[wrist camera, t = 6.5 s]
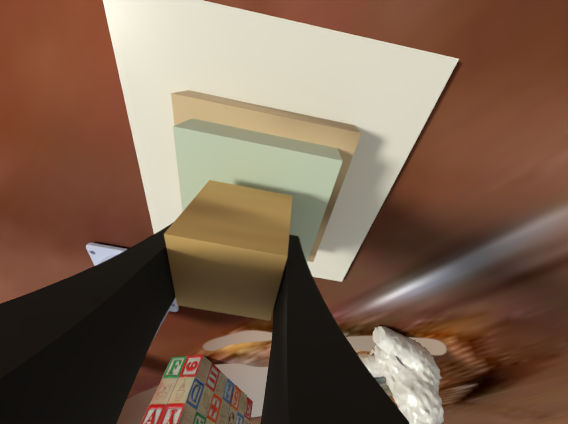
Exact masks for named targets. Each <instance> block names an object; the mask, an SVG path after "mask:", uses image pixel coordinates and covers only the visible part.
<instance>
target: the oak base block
mask: <svg viewBox="0 0 568 424" xmlns="http://www.w3.org/2000/svg"><path fill="white" fill-rule="evenodd" d="M171 98H172V108H173V117H174V126H175V125H177V124H179V123H182V122H184V121H186V120H189V119H191V118H194V119H199V120H203V121H208V122H213V123H218V124H223V125H228V126H233V127H237V128H242V129H247V130H252V131H257V132H262V133H267V134H272V135H276V136H281V137H286V138H291V139H296V140H301V141H306V142H310V143H315V144H320V145H325V146H330V147H335V148H337V149H338V151H339V153H340V156H341V158H342V160H343V162H342V165H341V168H340V170H339V173H338V176H337V179H336V182H335V185H334V187H333V190H332V193H331V196H330V199H329V202H328V204H327V207H326V210H325V213H324V216H323V219H322V222H321V224H320V227H319V230H318V233H317V236H316V239H315V241H314V244H313V247H312V250H311V253H310V256H309V258H308V261H310V262H313V261H314V259H315V256H316V253H317V251H318V248H319V245H320V243H321V240H322V237H323V235H324V232H325V229H326V227H327V224H328V221H329V219H330V216H331V213H332V211H333V208H334V205H335V203H336V200H337V197H338V195H339V192H340V189H341V187H342V184H343V181H344V179H345V176H346V173H347V171H348V168H349V165H350V163H351V160H352V157H353V155H354V152H355V149H356V147H357V144H358V141H359V139H360V136H361V132H360V131H359V130H358V129H357V128H356V127H355V126H354V125H351V124H347V123H342V122H337V121H332V120H328V119H323V118H318V117H314V116H309V115H304V114H299V113H295V112H290V111H285V110H280V109H276V108H271V107H266V106H261V105H257V104H252V103H247V102H242V101H238V100H233V99H228V98H223V97H219V96H214V95H209V94H204V93H200V92H195V91H190V90H187V91H181V92H175V93H171Z"/></svg>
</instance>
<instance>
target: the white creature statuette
mask: <svg viewBox="0 0 568 424" xmlns="http://www.w3.org/2000/svg"><path fill="white" fill-rule="evenodd" d="M373 341H374V342H375V343H376V344H377V345H376V346H374V348H372V350H371V352H370V353H365V354H357V355H358V356H359V358H360V359H361V361H362V362H363V363H364V365H365V366H366V367H367V369H368V370H369V371H370V373H371V374H372V376H373V377H382V376H384V377H385V378H386V383H387V385H388V386H389V388H390V390H391V392H392V393H393V398H394V400H395V403H396V404H397V405H398V409H399V410H400V411H401V412H402V414H403V415H404V416H405V417H406V418H407V420H408V421H409V424H441V423H442V422H443V421H444V418H443V414H444V410H443V408H442V399H441V398H440V396H439V394H438V390H439V383H440V382H439V379H441V376H440V369H439V368H438V366H437V364H436V363H435V361H434V358H433V356H432V355H430V353H429V351H427V349H426V348H425V347H422V346H421V344H420V343H418V342H416V341H415V340H412V339H410V338H408V337H406V336H403V335H402V334H399V333H397V332H395V331H393V330H391V329H389V328H387V327H385V326H383V327H382V326H379V327H378V328H375V330H374V331H373Z"/></svg>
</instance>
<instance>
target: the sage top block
mask: <svg viewBox="0 0 568 424" xmlns="http://www.w3.org/2000/svg"><path fill="white" fill-rule="evenodd" d="M173 131H174V140H175V149H176V158H177V167H178V176H179V185H180V194H181V203H182V212H183V211H184V210H185V208H186V207H187V206H188V205H189V204H190V202H191V201H192V200H193V199H194V198H195V197H196V195H197V194H198V193H199V192H200V191H201V189H202V188H203V187H204V186H205V185H206V184H207V182H208V181H209V180H213V181H218V182H223V183H228V184H233V185H239V186H244V187H249V188H254V189H259V190H265V191H270V192H275V193H280V194H285V195H290V196H292V206H291V219H290V231H289V234H290V235H295V236H298V237H299V238H300V243H301V246H302V250H303V253H304V256H305V259H306V261H308V258H309V256H310V253H311V250H312V247H313V244H314V241H315V239H316V236H317V233H318V230H319V227H320V224H321V222H322V219H323V216H324V213H325V210H326V207H327V204H328V202H329V199H330V196H331V193H332V190H333V187H334V185H335V182H336V179H337V176H338V173H339V170H340V168H341V165H342V162H343V160H342V158H341V156H340V153H339V151H338V149H337V148H335V147H330V146H325V145H320V144H315V143H310V142H306V141H301V140H296V139H291V138H286V137H281V136H276V135H272V134H267V133H262V132H257V131H252V130H247V129H242V128H237V127H233V126H228V125H223V124H218V123H213V122H208V121H203V120H199V119H194V118H191V119H189V120H186V121H184V122H182V123H179V124H177V125H175V126H173Z"/></svg>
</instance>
